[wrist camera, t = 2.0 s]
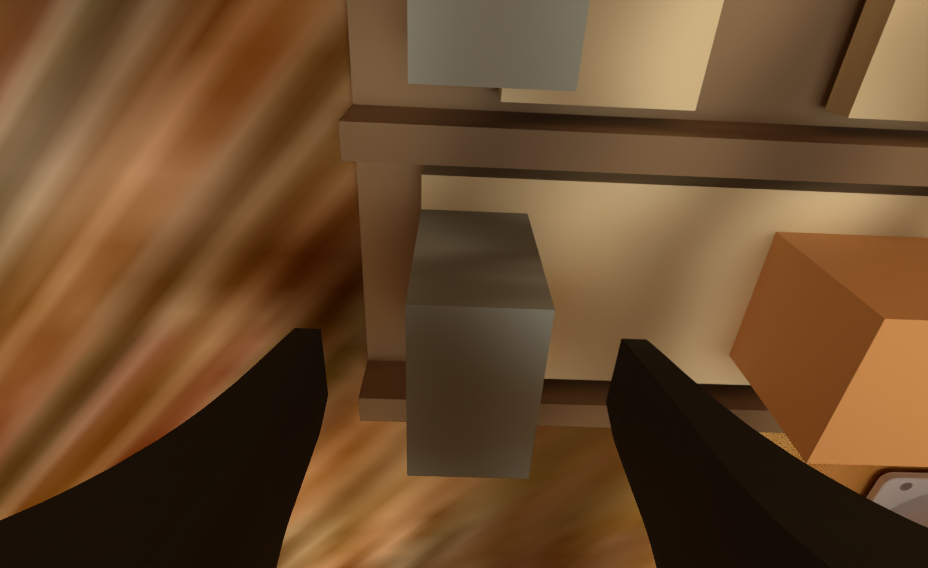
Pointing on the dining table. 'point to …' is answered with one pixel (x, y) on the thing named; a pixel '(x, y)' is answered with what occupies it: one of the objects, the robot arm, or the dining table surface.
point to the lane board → (616, 121)
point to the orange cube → (842, 346)
